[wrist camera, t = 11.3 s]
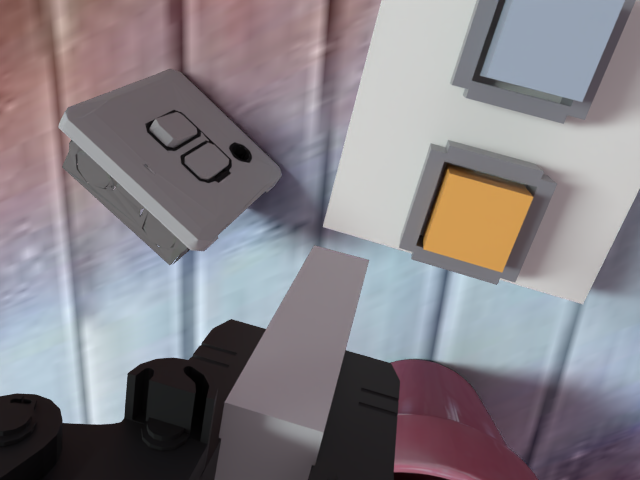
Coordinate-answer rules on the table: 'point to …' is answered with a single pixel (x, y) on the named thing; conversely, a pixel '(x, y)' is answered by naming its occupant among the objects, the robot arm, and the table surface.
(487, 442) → the plant pot
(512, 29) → the grey button
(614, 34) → the switch panel
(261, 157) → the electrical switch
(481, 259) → the orange button
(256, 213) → the table surface
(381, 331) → the table surface
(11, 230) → the table surface
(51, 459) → the robot arm
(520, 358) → the table surface
